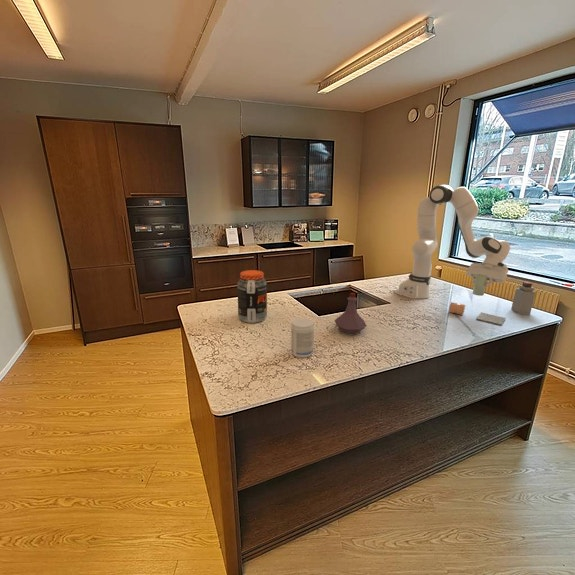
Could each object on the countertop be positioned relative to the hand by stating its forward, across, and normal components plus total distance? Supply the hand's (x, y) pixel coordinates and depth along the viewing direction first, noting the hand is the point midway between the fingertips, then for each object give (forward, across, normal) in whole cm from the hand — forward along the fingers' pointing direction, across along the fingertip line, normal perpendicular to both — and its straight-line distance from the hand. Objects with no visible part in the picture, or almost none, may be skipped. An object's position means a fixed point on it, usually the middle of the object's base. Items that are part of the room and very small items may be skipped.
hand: (479, 284), depth 182 cm
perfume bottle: (-6, +14, +32) cm, 35 cm away
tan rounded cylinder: (+19, -5, +6) cm, 21 cm away
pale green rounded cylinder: (+4, 0, +5) cm, 6 cm away
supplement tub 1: (+91, -63, -67) cm, 129 cm away
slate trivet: (+14, +10, +12) cm, 20 cm away
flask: (+68, -22, -43) cm, 83 cm away
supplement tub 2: (+92, -18, -67) cm, 115 cm away
